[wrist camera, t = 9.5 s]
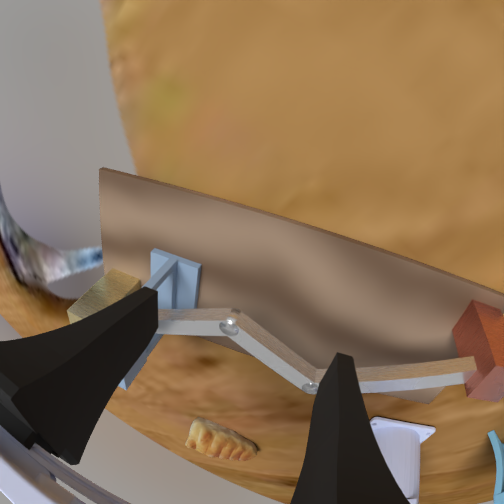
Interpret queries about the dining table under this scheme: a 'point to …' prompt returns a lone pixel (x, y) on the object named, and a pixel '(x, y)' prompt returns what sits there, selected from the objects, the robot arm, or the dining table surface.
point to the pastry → (219, 441)
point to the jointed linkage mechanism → (308, 377)
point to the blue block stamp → (168, 294)
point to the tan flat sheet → (290, 277)
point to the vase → (498, 467)
